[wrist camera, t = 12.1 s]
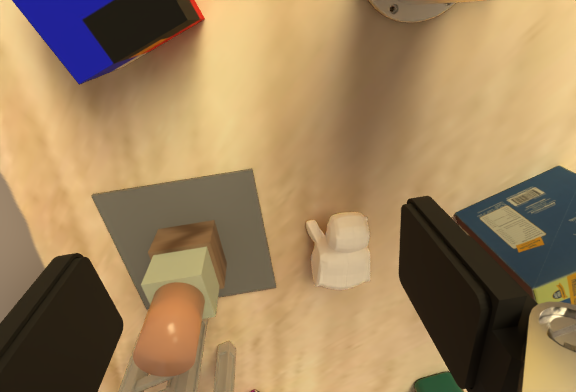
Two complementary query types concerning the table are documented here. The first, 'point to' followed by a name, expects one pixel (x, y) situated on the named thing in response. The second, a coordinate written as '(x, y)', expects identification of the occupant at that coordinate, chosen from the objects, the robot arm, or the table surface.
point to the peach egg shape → (170, 331)
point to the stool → (186, 384)
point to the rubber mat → (187, 210)
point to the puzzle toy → (106, 30)
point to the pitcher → (437, 383)
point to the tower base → (192, 244)
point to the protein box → (531, 233)
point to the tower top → (184, 275)
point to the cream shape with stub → (340, 251)
